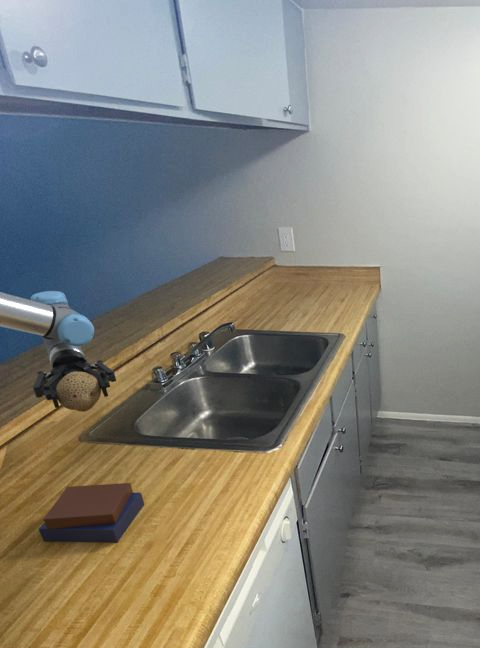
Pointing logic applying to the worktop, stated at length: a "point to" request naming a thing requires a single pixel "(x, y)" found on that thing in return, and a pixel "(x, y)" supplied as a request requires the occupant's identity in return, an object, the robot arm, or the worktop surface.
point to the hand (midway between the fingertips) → (80, 396)
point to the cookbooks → (92, 513)
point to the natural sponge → (78, 391)
